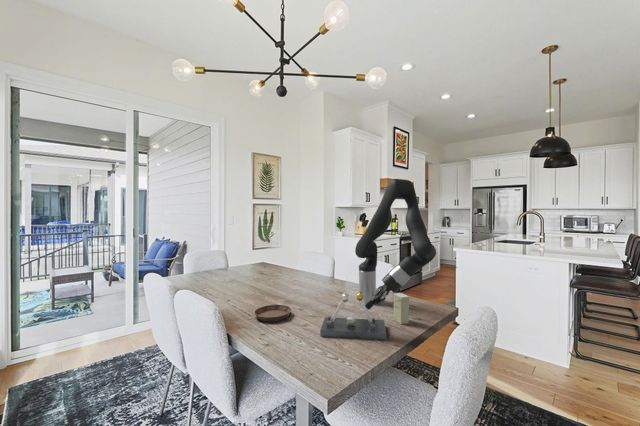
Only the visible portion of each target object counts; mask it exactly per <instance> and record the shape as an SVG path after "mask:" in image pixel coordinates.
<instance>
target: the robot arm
mask: <svg viewBox="0 0 640 426" xmlns="http://www.w3.org/2000/svg"><path fill="white" fill-rule="evenodd" d="M395 200H404V201H405V203H406V205H407V209H406V210H407V211H406V213H405V214H406V215H405V224H406V228H407V231H408V233H409V235H410V237H411V242H412V243H411V244H412V247H413V250H414V252H415V253H414V254H412V255H409V256H406V257H404V258H403V259H402V260H401V261H400V262H398V264H397V265H396V266H394V267H393V268H392V269H391V270H390V271H389V272H388V273H387V274H386V275H385V276H384V277H383V278H382V280H381V281H382V283H383V285H379V286H378V287H377V270H376V269H377V265H378V245H377V243H376V242H375V241H376V240H377V239H378V238H380V237H381V236H382V235H383V234H385V233H386V232H387V231H388V228H389V227H390V225H391V223H392V221H393V214H392V210H391V209H392V206H393V203H394V202H395ZM418 202H419V201H418V199H417V193H416V189H415V186H414V184H413V182H412V181H411V180H409V179H402V178H401V179H400V178H392V179H391V180H390V181H389V182H388V184H387V186H386V188H385V191H384V192H383V196H382V199H381V201H380V202H379V205H378V206H377V209H376V211H375V213H374V214H373V216H372V218H371V220H370V222H369V224H368V226H367V228H366V230H364V233H362V236H361V237H360V239H359V240H358V242H356V246H355V249H354V250H355V251H354V252H355V255H356V257H357V258H359V259H365V260H363V261H362V262H361V263H360V264H359V265H358V292H362V293H363V300H364V302H365V304H366V308H367V309H368V311H369V310H371V309H372V308H373V306H375V305H379V304H380V303H382V302H383V301H385V300H387V298H388V296H389V295H390V294H389V293H391V292H392V293H393V294H395V293H398V291H400V290H401V288H403V287H404V286H405V284H407V282H408V281H409V280H410V279H411V277H413V276H414V275H415V274H416V273H417V272H418V271H419V270H420V269H422V268H423V267H425V266H426V265H428V264H430V263H431V262H432V261H433V259H434V258H435V257H436V255H437V250H436V247H435V246H434V245H433V243H432V242H431V240H430V237H429V235H428V230H427V227H426V225H425V222H424V219H423V218H422V214H421V212H420V208H419V203H418ZM386 297H387V298H386Z"/></svg>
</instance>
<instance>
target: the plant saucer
mask: <svg viewBox="0 0 640 426" xmlns="http://www.w3.org/2000/svg"><path fill="white" fill-rule="evenodd" d="M253 312H254V313H253V314H254V315H255V317H257V319H259V320H260V321H262V322H279V321H282V320H285V319H286V318H288V316H289V315H290V314H291V312H292V308H291V306H289V305H284V304H270V305H263V306H261V307H258V308H257V309H254V311H253Z"/></svg>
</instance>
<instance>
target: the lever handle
mask: <svg viewBox="0 0 640 426" xmlns="http://www.w3.org/2000/svg"><path fill="white" fill-rule="evenodd" d="M356 300H357V301H359V302H360V305H361V307H362V309H363V312H364V314H365V316H366V319H368V321H369V323H373V321H372V316H371V314H370V311H369V310H368V309H367V308H366V304H367V303H365V302H364V300H363V293H362V292H359V291H358V292H356Z"/></svg>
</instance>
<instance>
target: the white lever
mask: <svg viewBox="0 0 640 426" xmlns="http://www.w3.org/2000/svg"><path fill="white" fill-rule="evenodd" d="M349 298H350V297H349V294H348V293H347V292H344V293H342V296H341V300H340V302H339V304H338V305H337V307H336V309H335V310H334V312H333V314H332V317H331V319H330V321H332V323H333V321H334V319H335V318H337V316H338V314H339V313H340V311H341V309H342V307H343V305H344V304H345V303H346V302H348V301H349Z"/></svg>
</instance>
